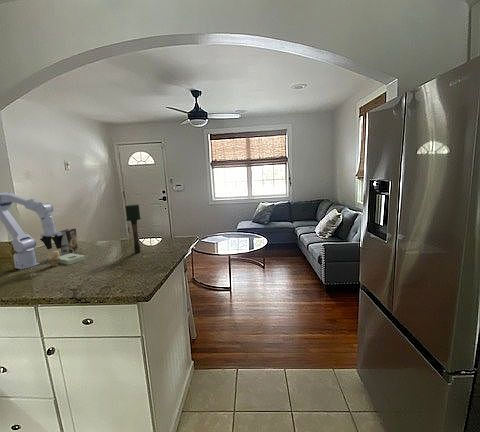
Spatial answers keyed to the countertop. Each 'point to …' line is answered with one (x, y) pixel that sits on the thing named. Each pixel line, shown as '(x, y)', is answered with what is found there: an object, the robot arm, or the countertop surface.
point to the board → (71, 258)
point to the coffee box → (69, 242)
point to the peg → (53, 258)
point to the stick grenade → (134, 223)
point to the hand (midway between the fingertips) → (54, 248)
